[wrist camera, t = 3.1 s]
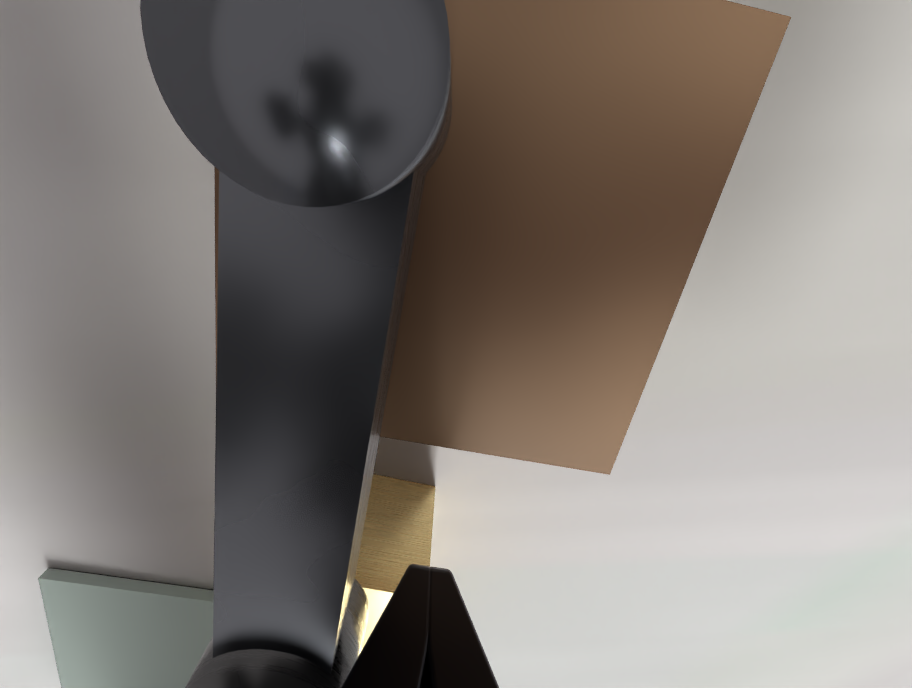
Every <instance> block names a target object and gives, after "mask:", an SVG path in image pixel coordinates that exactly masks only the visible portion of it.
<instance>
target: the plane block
mask: <svg viewBox="0 0 912 688" xmlns="http://www.w3.org/2000/svg"><path fill="white" fill-rule="evenodd" d="M444 2H445V7H446V11H447V17H448V27H449V37H450V59H451V85H452V116H451V124H450V128H449V132H448V136H447V139H446V142H445V145H444V147H443V149H442V151H441V153H440V155H439V157H438V159H437V160H436V162H435V163H434V164H433V166H432V167H431V168H430V170H429V171H428V172H427V173H426V175H425V181H424V186H423V192H422V198H421V204H420V209H419V215H418V221H417V226H416V232H415V238H414V243H413V249H412V255H411V261H410V266H409V272H408V278H407V283H406V289H405V295H404V301H403V306H402V312H401V318H400V323H399V329H398V335H397V340H396V346H395V352H394V358H393V363H392V369H391V375H390V380H389V386H388V392H387V398H386V403H385V409H384V415H383V420H382V426H381V432H380V437H386V438H392V439H398V440H404V441H410V442H416V443H422V444H428V445H434V446H440V447H446V448H452V449H458V450H464V451H470V452H476V453H482V454H488V455H494V456H500V457H507V458H513V459H519V460H525V461H531V462H537V463H543V464H549V465H555V466H561V467H567V468H573V469H579V470H585V471H591V472H597V473H603V474H609V475H610V473H611V470H612V468H613V465H614V463H615V460H616V457H617V455H618V452H619V450H620V447H621V445H622V442H623V440H624V437H625V435H626V432H627V430H628V427H629V425H630V422H631V420H632V417H633V415H634V412H635V410H636V407H637V405H638V402H639V400H640V397H641V394H642V392H643V389H644V387H645V384H646V382H647V379H648V377H649V374H650V372H651V369H652V367H653V364H654V362H655V359H656V357H657V354H658V352H659V349H660V347H661V344H662V342H663V339H664V336H665V334H666V331H667V329H668V326H669V324H670V321H671V319H672V316H673V314H674V311H675V309H676V306H677V304H678V301H679V299H680V296H681V294H682V291H683V289H684V286H685V284H686V281H687V279H688V276H689V273H690V271H691V268H692V266H693V263H694V261H695V258H696V256H697V253H698V251H699V248H700V246H701V243H702V241H703V238H704V236H705V233H706V231H707V228H708V226H709V223H710V221H711V218H712V215H713V213H714V210H715V208H716V205H717V203H718V200H719V198H720V195H721V193H722V190H723V188H724V185H725V183H726V180H727V178H728V175H729V173H730V170H731V168H732V165H733V163H734V160H735V158H736V155H737V152H738V150H739V147H740V145H741V142H742V140H743V137H744V135H745V132H746V130H747V127H748V125H749V122H750V120H751V117H752V115H753V112H754V110H755V107H756V105H757V102H758V100H759V97H760V94H761V92H762V89H763V87H764V84H765V82H766V79H767V77H768V74H769V72H770V69H771V67H772V64H773V62H774V59H775V57H776V54H777V52H778V49H779V47H780V44H781V42H782V39H783V37H784V34H785V31H786V29H787V26H788V24H789V21H790V19H791V17H789V16H785V15H781V14H777V13H773V12H769V11H765V10H761V9H758V8H754V7H750V6H746V5H742V4H738V3H734V2H730V1H726V0H444ZM218 227H219V170H218V169H217V168H216V167H215V299H216V376H217V301H218Z"/></svg>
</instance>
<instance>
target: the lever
mask: <svg viewBox="0 0 912 688" xmlns="http://www.w3.org/2000/svg"><path fill="white" fill-rule="evenodd" d="M140 9H141V20H142V30H143V36H144V41H145V46H146V51H147V56H148V59H149V62H150V65H151V68H152V72H153V75H154V78H155V81H156V83H157V85H158V87H159V90H160V92H161V94H162V97H163V99H164V101H165V103H166V105H167V106H168V108H169V110H170V112H171V114H172V115H173V117H174V119H175V121H176V122H177V124H178V125H179V126H180V128H181V129H182V131H183V132H184V133H185V135H186V136H187V138H188V139H189V140H190V141H191V143H192V144H193V145H194V146H195V147H196V148H197V149H198V151H199V152H200V153H201V154H202V155H203V156H204V157H205V158H206V159H207V160H208V161H209V162H210V163H212V164H213V165H214V166H215V167H216V168H217V169H218V170H219V227H218V301H217V376H216V451H215V526H214V601H213V636H212V638H211V640H210V642H209V644H208V646H207V647H206V649H205V651H204V653H203V655H202V657H201V659H200V661H199V662H198V664H197V666H196V668H195V670H194V672H193V674H192V676H191V677H190V679H189V681H188V683H187V685H186V687H185V688H341V687H342V685H343V683H344V682H345V680H346V678H347V676H348V674H349V673H350V671H351V669H352V667H353V665H354V663H355V662H356V660H357V658H358V656H359V654H360V653H361V651H362V646H363V641H364V636H365V631H366V626H367V621H368V616H369V602H368V598H367V595H366V593H365V591H364V589H363V588H362V586H361V585H360V584H359V583H358V581H357V580H356V579H355V574H356V569H357V563H358V557H359V552H360V546H361V540H362V534H363V529H364V523H365V517H366V512H367V506H368V500H369V495H370V489H371V483H372V477H373V472H374V466H375V460H376V455H377V449H378V443H379V437H380V432H381V426H382V420H383V415H384V409H385V403H386V398H387V392H388V386H389V380H390V375H391V369H392V363H393V358H394V352H395V346H396V340H397V335H398V329H399V323H400V318H401V312H402V306H403V301H404V295H405V289H406V283H407V278H408V272H409V266H410V261H411V255H412V249H413V243H414V238H415V232H416V226H417V221H418V215H419V209H420V204H421V198H422V192H423V186H424V181H425V175H426V173H427V172H428V171H429V170H430V168H431V167H432V166H433V164H434V163H435V162H436V160H437V159H438V157H439V155H440V153H441V151H442V149H443V147H444V145H445V142H446V139H447V136H448V132H449V128H450V124H451V116H452V85H451V59H450V37H449V27H448V17H447V11H446V7H445V2H444V0H141V6H140Z"/></svg>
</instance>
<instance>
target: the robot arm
mask: <svg viewBox="0 0 912 688" xmlns="http://www.w3.org/2000/svg"><path fill="white" fill-rule="evenodd" d="M341 688H499V686H498V684H497V681H496V679H495V676H494V674H493V672H492V669H491V667H490V664H489V662H488V659H487V657H486V655H485V652H484V650H483V647H482V645H481V642H480V640H479V638H478V635H477V633H476V630H475V628H474V625H473V623H472V620H471V618H470V616H469V613H468V611H467V608H466V606H465V603H464V601H463V599H462V596H461V594H460V591H459V589H458V586H457V584H456V582H455V579H454V577H453V574H452V573H451V571H450V570H448V569H444V568H437V567H429V566H424V565H418V564H410V565H409V566H408V568H407V569H406V571H405V573H404V575H403V577H402V578H401V580H400V582H399V584H398V586H397V587H396V589H395V591H394V593H393V595H392V596H391V598H390V600H389V602H388V604H387V606H386V607H385V609H384V611H383V613H382V615H381V616H380V618H379V620H378V622H377V624H376V625H375V627H374V629H373V631H372V633H371V634H370V636H369V638H368V640H367V642H366V644H365V645H364V647H363V649H362V651H361V653H360V654H359V656H358V658H357V660H356V662H355V663H354V665H353V667H352V669H351V671H350V673H349V674H348V676H347V678H346V680H345V682H344V683H343V685H342V687H341Z"/></svg>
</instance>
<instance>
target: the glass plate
mask: <svg viewBox="0 0 912 688" xmlns="http://www.w3.org/2000/svg"><path fill="white" fill-rule="evenodd" d="M38 580H39V584H40V589H41V594H42V598H43V603H44V608H45V612H46V617H47V622H48V627H49V631H50V636H51V641H52V645H53V650H54V655H55V660H56V664H57V669H58V674H59V678H60V683H61V688H185V687H186V685H187V683H188V681H189V679H190V677H191V676H192V674H193V672H194V670H195V668H196V666H197V664H198V662H199V661H200V659H201V657H202V655H203V653H204V651H205V649H206V647H207V646H208V644H209V642H210V640H211V638H212V636H213V601H214V590H207V589H199V588H192V587H185V586H177V585H170V584H163V583H155V582H148V581H140V580H133V579H126V578H118V577H111V576H104V575H96V574H89V573H81V572H74V571H67V570H59V569H52V568H49V569H47V570H46V571H45V572H44V573H43V574H42V575H41V576H40V577H39V578H38Z"/></svg>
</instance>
